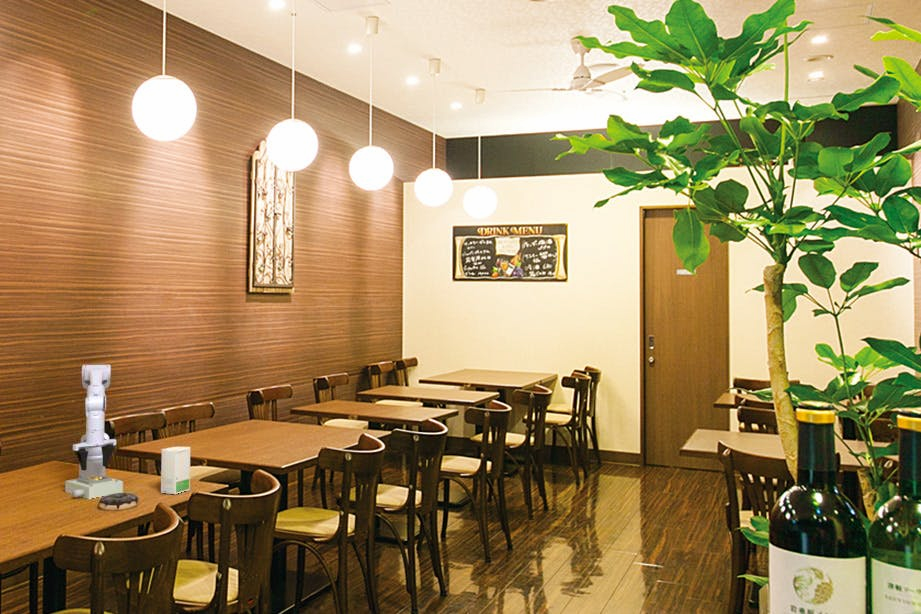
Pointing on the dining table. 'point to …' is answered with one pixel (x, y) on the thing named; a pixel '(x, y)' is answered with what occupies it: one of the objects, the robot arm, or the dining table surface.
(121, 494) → the donut
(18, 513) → the dining table surface
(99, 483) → the gearbox
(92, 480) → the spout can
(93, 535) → the dining table surface
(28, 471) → the dining table surface
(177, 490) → the skincare box
